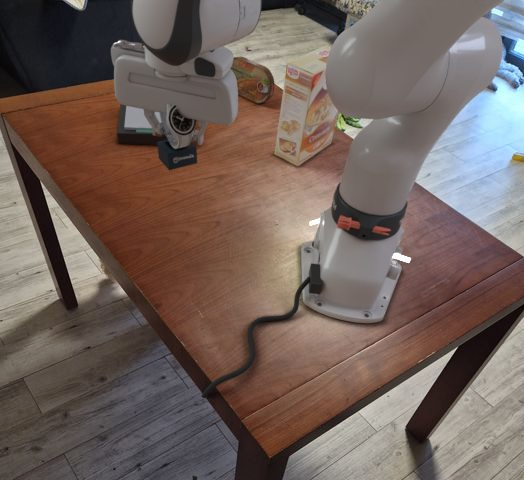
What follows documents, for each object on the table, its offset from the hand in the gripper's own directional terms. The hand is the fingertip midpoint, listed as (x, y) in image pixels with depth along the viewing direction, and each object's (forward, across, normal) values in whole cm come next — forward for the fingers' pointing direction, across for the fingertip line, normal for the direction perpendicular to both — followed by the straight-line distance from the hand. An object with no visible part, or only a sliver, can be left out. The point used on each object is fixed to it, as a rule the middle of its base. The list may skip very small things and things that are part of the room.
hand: (178, 138), depth 82 cm
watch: (+4, 0, 0) cm, 4 cm away
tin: (+13, +1, +52) cm, 53 cm away
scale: (+13, -16, +26) cm, 33 cm away
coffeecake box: (+14, +19, +31) cm, 39 cm away
